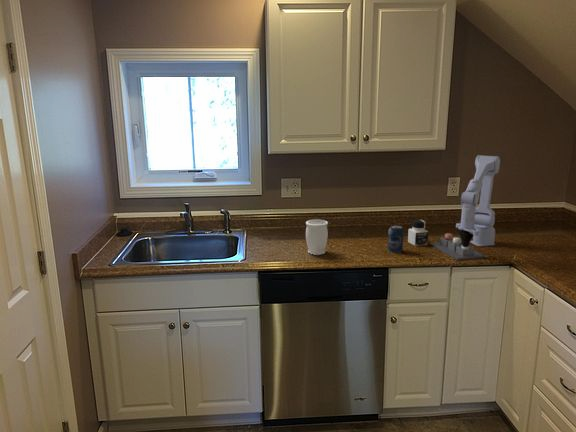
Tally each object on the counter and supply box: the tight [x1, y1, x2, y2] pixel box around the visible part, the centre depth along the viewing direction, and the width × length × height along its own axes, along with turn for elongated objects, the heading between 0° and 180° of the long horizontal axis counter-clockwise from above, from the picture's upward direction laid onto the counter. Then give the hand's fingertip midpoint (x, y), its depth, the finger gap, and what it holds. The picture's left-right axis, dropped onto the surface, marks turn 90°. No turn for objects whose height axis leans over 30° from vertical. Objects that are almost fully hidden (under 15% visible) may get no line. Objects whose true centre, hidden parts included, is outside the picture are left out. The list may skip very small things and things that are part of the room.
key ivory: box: [453, 237, 462, 245], centre depth 213 cm, size 4×4×3 cm
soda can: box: [387, 224, 404, 254], centre depth 213 cm, size 7×7×12 cm
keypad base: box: [429, 236, 486, 261], centre depth 213 cm, size 14×24×4 cm, turn 12°
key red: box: [444, 232, 454, 240], centre depth 219 cm, size 4×4×3 cm
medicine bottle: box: [407, 219, 429, 247], centre depth 224 cm, size 7×7×12 cm
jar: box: [305, 219, 329, 256], centre depth 212 cm, size 11×10×15 cm
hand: (465, 246), depth 206 cm, fingers closed, pressing on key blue
